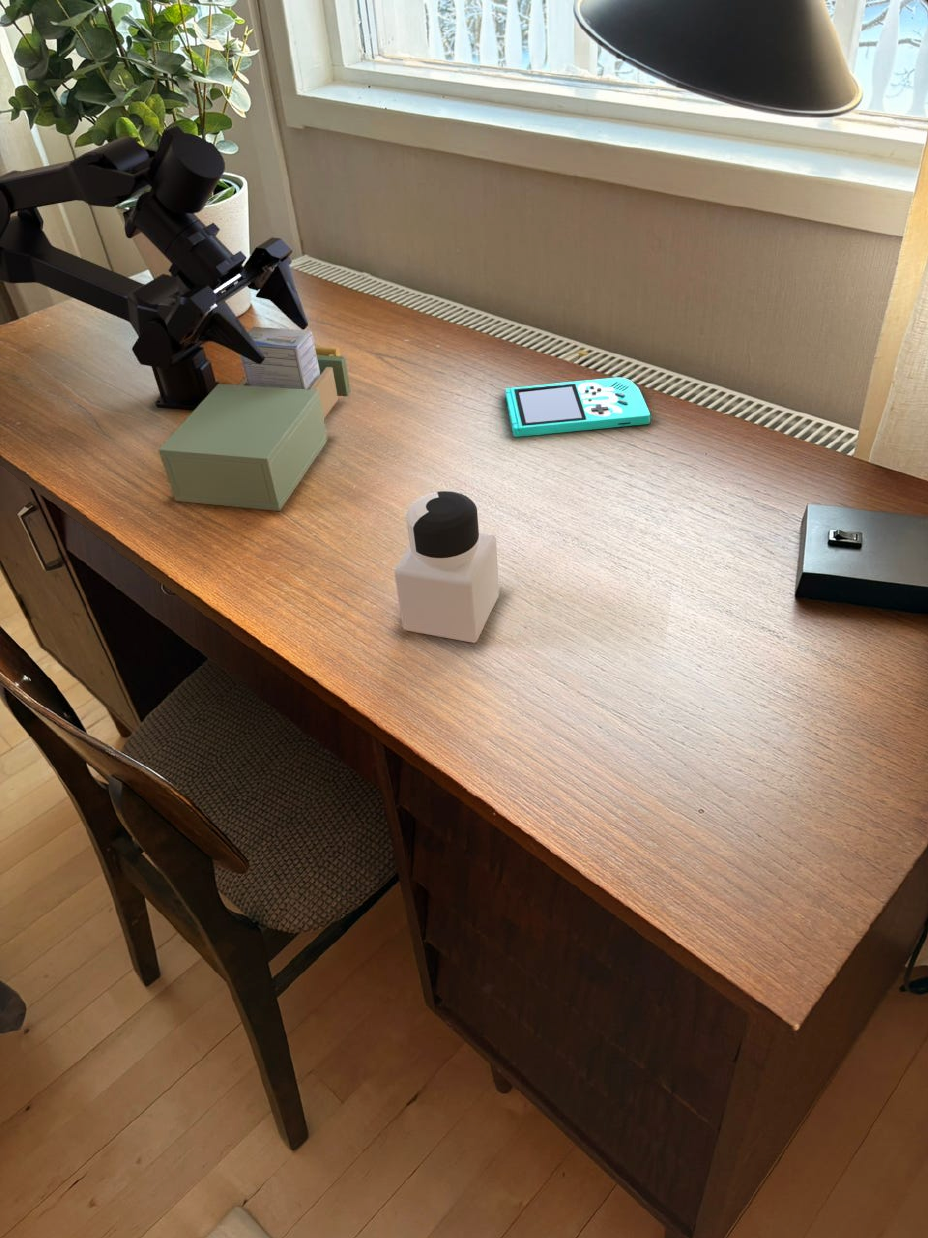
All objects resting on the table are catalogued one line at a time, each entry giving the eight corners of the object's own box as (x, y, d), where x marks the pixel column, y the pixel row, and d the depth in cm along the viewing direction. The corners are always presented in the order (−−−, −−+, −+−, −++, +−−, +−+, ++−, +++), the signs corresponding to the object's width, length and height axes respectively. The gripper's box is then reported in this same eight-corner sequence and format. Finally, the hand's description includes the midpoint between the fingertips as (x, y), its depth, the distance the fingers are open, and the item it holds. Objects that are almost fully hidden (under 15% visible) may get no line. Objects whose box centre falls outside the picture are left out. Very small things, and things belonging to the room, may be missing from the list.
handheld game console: (650, 425, 109) (651, 414, 108) (513, 438, 109) (512, 428, 108) (633, 383, 116) (633, 373, 116) (504, 396, 116) (504, 386, 116)
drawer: (281, 369, 124) (274, 334, 121) (363, 374, 122) (357, 339, 118) (221, 441, 111) (211, 405, 108) (311, 448, 109) (303, 411, 106)
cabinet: (231, 432, 115) (218, 383, 110) (328, 440, 112) (318, 389, 107) (175, 500, 104) (158, 449, 100) (279, 511, 101) (266, 458, 97)
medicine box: (326, 396, 115) (313, 329, 110) (310, 414, 112) (296, 346, 107) (268, 390, 118) (253, 324, 112) (252, 408, 115) (235, 341, 109)
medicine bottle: (500, 594, 88) (494, 487, 80) (476, 645, 83) (467, 536, 75) (429, 582, 90) (416, 477, 82) (402, 631, 85) (385, 524, 78)
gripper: (206, 254, 118) (296, 348, 122) (106, 316, 106) (209, 418, 109) (243, 193, 110) (338, 295, 114) (139, 252, 98) (250, 365, 101)
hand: (284, 344), depth 110 cm, fingers open, 9 cm apart
